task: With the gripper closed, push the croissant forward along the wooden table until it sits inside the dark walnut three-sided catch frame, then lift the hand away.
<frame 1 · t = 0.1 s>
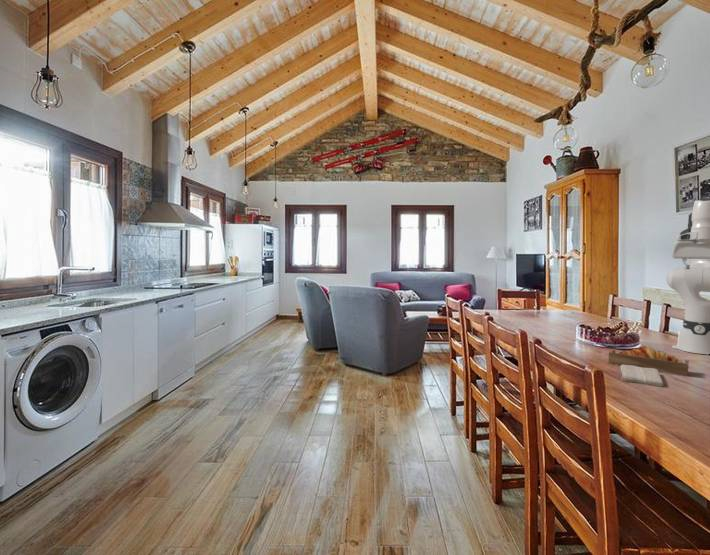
hand: (702, 269, 159), 39 cm above the table, tool pointing down, fingers open, 8 cm apart
catch frame: (647, 367, 152), on the table
washcloth: (640, 379, 139), on the table
croissant: (649, 363, 159), on the table
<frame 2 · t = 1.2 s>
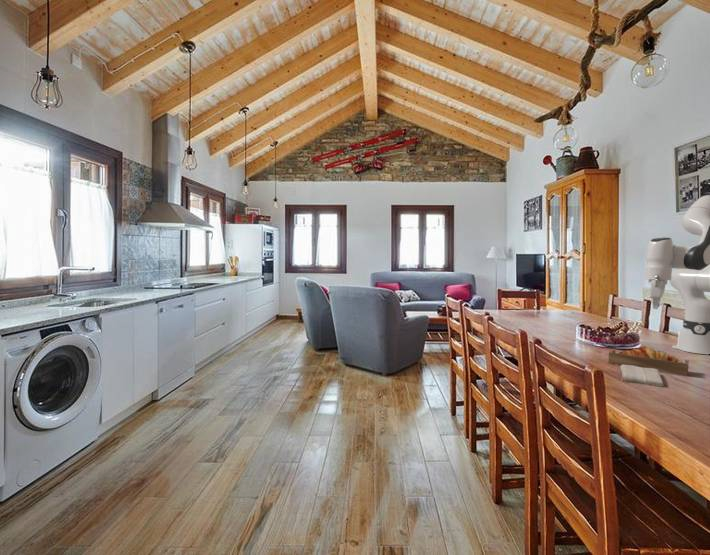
hand: (656, 307, 163), 22 cm above the table, tool pointing down, fingers open, 8 cm apart
nothing on the table moved.
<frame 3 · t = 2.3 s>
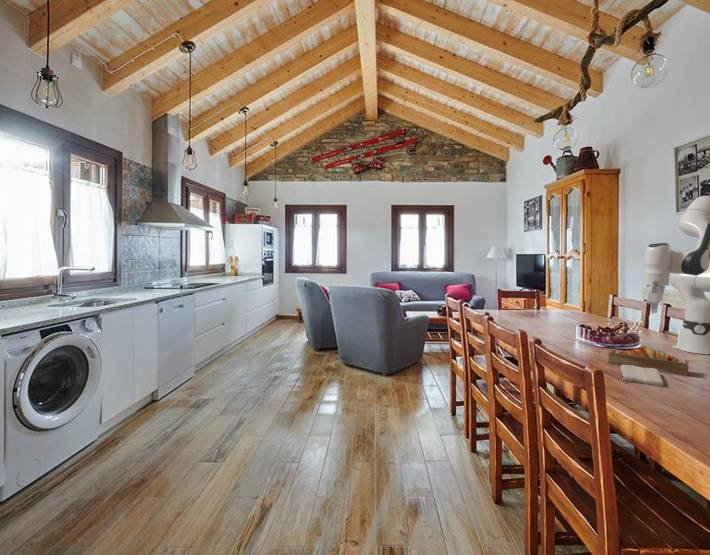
hand: (654, 313, 164), 20 cm above the table, tool pointing down, fingers closed
nothing on the table moved.
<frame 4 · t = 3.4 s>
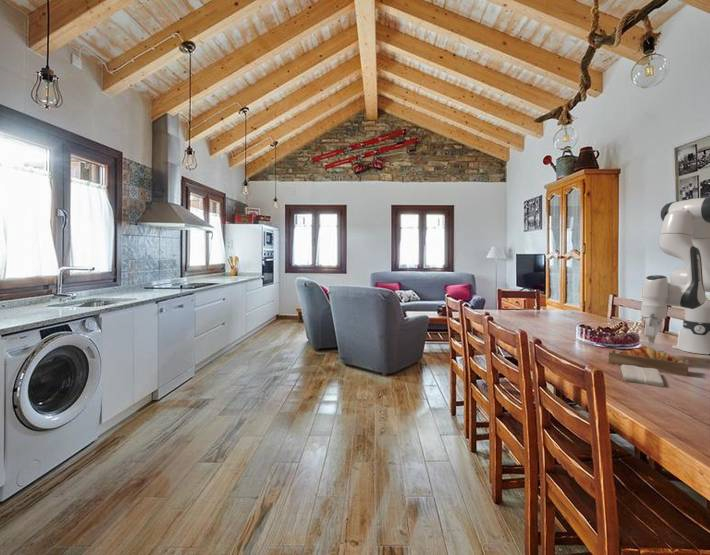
hand: (651, 344, 165), 6 cm above the table, tool pointing down, fingers closed
nothing on the table moved.
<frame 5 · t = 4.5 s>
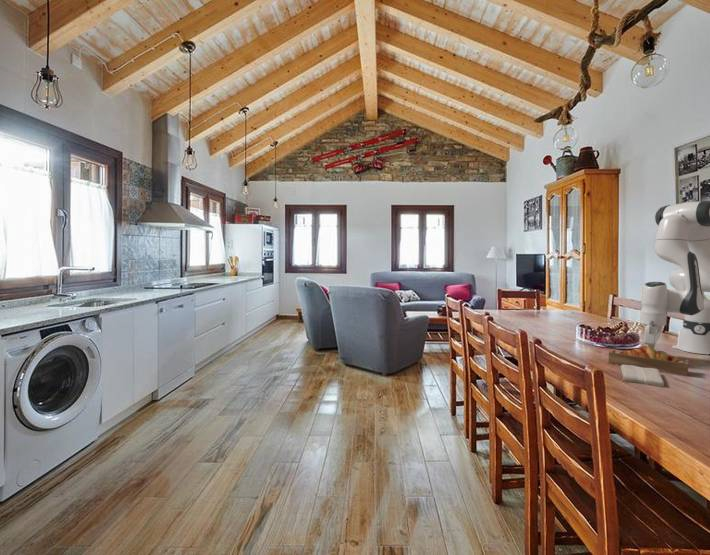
hand: (651, 351, 164), 3 cm above the table, tool pointing down, fingers closed
croissant: (650, 363, 159), on the table, touching gripper
everything else where it was.
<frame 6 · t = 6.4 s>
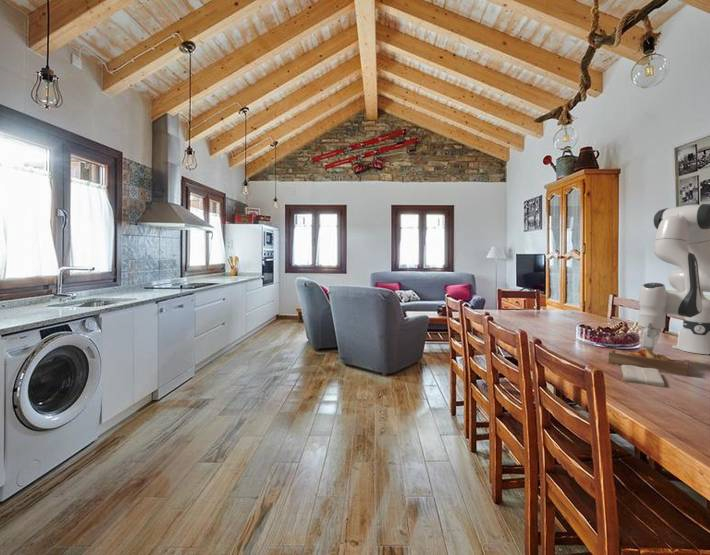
hand: (649, 355, 158), 3 cm above the table, tool pointing down, fingers closed
croissant: (649, 367, 153), on the table, touching gripper
everything else where it was.
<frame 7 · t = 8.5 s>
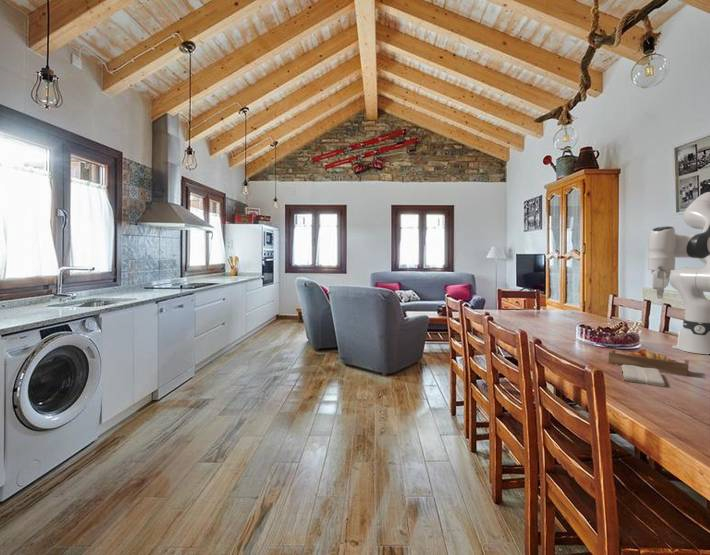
hand: (660, 298, 160), 26 cm above the table, tool pointing down, fingers closed
croissant: (649, 367, 153), on the table
everything else where it was.
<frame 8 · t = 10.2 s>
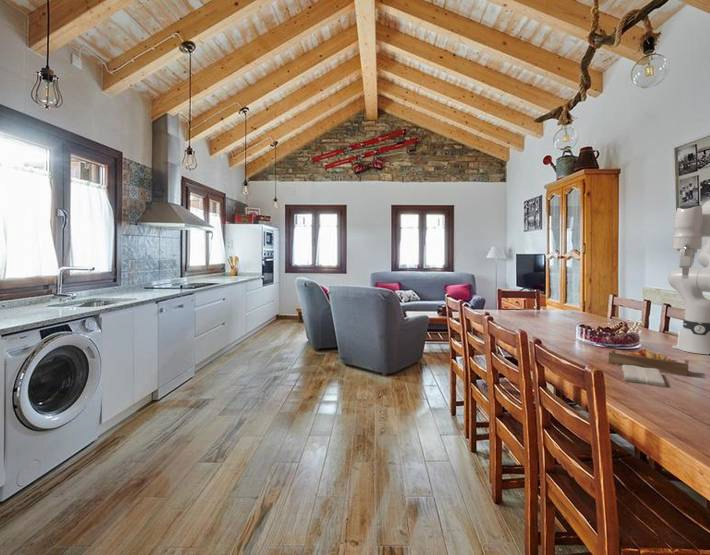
hand: (685, 278, 156), 35 cm above the table, tool pointing down, fingers closed
nothing on the table moved.
at the end: croissant inside the target area (2.6 cm from its centre), on the table; croissant moved 6.5 cm from its start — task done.
